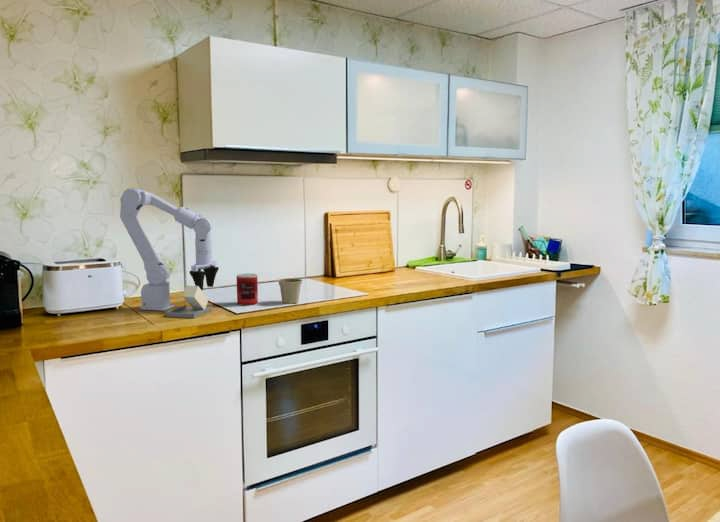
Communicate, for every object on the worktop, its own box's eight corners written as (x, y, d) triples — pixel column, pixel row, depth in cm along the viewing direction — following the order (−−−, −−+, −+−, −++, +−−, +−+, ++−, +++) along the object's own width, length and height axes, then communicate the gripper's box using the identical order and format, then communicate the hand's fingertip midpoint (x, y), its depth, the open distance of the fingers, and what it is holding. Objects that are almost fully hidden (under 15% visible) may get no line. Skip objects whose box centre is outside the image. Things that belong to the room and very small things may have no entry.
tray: (164, 316, 189) (164, 312, 188) (184, 309, 201) (184, 305, 200) (193, 318, 186) (193, 313, 186) (212, 310, 198) (211, 306, 198)
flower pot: (299, 299, 219) (299, 277, 218) (305, 303, 211) (305, 281, 210) (275, 301, 216) (275, 279, 215) (281, 305, 207) (280, 282, 206)
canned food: (248, 300, 217) (248, 272, 215) (262, 303, 211) (261, 274, 210) (232, 303, 211) (232, 275, 209) (246, 306, 206) (245, 277, 204)
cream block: (193, 309, 200) (182, 296, 193) (197, 298, 203) (186, 285, 196) (204, 310, 199) (194, 297, 192) (208, 299, 202) (198, 286, 194)
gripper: (203, 253, 194) (204, 292, 196) (223, 249, 208) (224, 285, 210) (185, 253, 196) (186, 291, 197) (206, 249, 210) (207, 284, 211)
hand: (205, 288), depth 203 cm, fingers open, 7 cm apart
